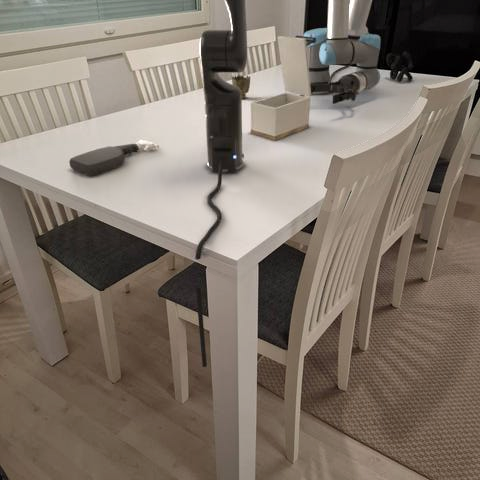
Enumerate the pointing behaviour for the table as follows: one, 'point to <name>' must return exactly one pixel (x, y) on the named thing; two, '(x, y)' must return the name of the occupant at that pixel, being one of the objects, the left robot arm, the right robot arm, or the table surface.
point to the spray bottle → (106, 157)
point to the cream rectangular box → (280, 115)
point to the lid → (295, 63)
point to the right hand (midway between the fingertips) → (316, 96)
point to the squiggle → (399, 66)
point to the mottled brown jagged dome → (242, 84)
